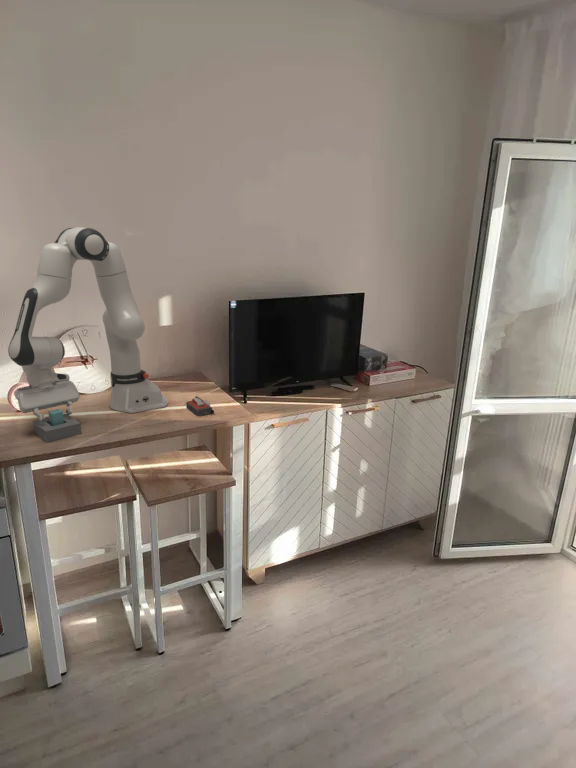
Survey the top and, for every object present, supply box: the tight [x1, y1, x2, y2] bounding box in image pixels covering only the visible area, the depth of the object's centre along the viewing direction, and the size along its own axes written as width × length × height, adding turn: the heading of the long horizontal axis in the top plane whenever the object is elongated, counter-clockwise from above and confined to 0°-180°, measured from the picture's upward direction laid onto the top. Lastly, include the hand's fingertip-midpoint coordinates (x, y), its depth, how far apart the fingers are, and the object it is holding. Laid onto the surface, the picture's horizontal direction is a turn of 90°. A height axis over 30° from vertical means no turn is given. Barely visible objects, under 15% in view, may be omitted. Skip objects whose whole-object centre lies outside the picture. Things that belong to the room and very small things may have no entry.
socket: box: [32, 412, 82, 443], centre depth 203 cm, size 12×12×4 cm
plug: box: [48, 408, 64, 426], centre depth 202 cm, size 4×4×8 cm
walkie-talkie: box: [186, 395, 215, 417], centre depth 230 cm, size 9×4×20 cm
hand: (56, 417), depth 201 cm, fingers open, 8 cm apart
